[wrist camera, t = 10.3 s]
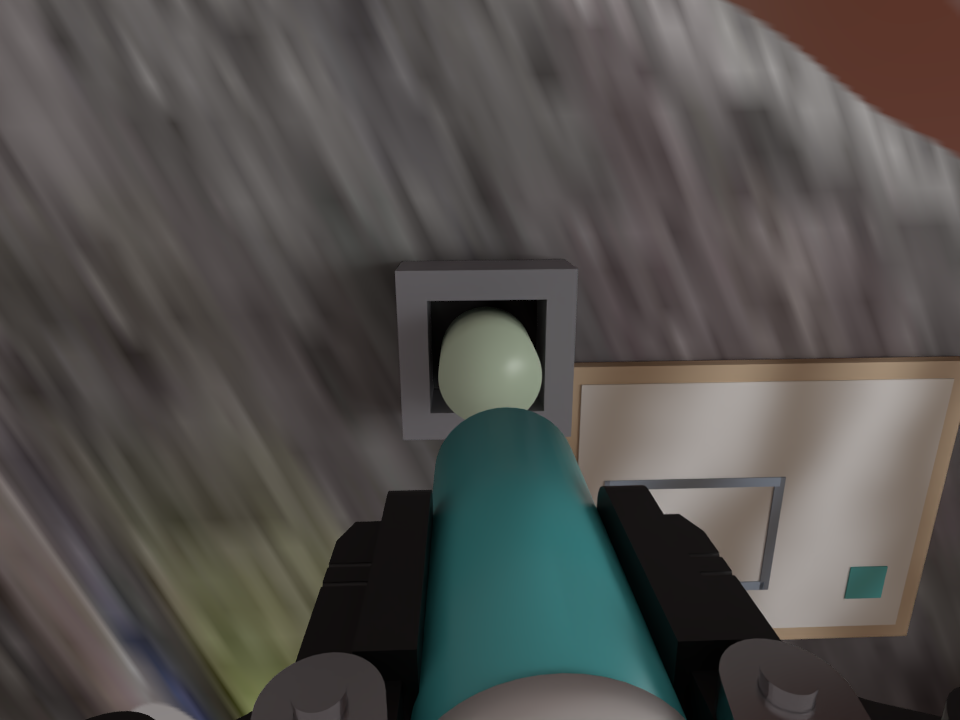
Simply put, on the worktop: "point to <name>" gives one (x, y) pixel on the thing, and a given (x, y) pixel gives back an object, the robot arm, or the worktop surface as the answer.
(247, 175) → the worktop surface
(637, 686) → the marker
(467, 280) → the button housing
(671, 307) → the worktop surface
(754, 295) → the worktop surface
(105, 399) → the worktop surface
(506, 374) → the button
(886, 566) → the framed whiteboard
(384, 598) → the robot arm
